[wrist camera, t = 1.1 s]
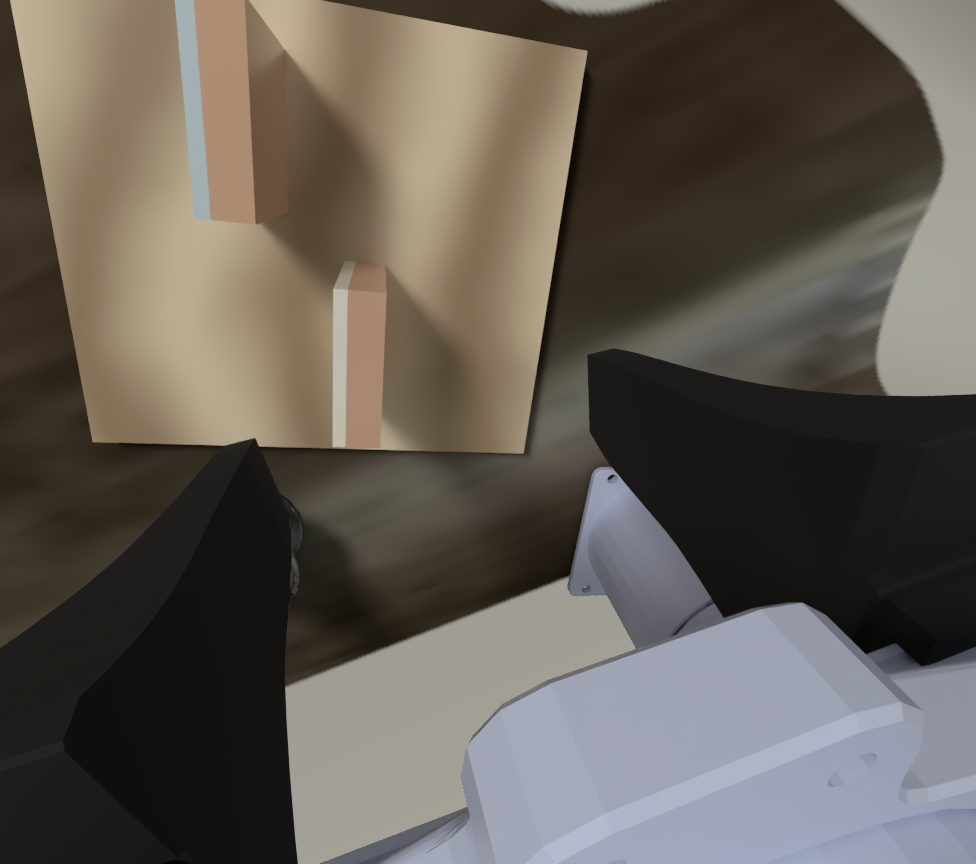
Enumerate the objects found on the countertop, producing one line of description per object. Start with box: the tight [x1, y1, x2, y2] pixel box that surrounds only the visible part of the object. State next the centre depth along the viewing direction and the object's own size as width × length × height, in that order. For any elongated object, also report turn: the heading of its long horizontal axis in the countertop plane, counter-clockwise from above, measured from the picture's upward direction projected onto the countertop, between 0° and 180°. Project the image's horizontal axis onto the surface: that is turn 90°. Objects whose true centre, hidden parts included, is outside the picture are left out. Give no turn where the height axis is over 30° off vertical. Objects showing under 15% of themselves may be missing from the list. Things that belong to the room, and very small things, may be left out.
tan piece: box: [175, 0, 289, 225], centre depth 16 cm, size 2×5×6 cm, turn 172°
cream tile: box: [333, 261, 387, 448], centre depth 19 cm, size 2×5×6 cm, turn 173°
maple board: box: [10, 0, 587, 454], centre depth 21 cm, size 18×16×1 cm
